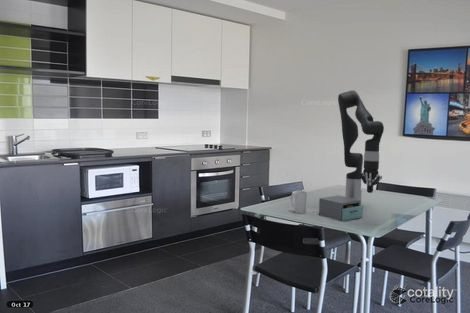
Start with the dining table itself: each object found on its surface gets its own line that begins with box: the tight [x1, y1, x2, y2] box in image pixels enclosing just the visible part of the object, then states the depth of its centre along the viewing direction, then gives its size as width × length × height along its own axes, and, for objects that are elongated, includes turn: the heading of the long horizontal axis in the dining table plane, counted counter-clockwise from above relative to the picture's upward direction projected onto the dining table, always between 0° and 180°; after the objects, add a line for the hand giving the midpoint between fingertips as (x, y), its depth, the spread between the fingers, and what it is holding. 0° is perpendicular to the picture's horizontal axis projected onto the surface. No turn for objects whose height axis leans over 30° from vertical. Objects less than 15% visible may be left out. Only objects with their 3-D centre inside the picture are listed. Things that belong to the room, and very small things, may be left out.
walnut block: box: [343, 204, 353, 209], centre depth 236 cm, size 5×5×5 cm
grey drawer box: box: [318, 194, 362, 222], centre depth 239 cm, size 16×16×10 cm
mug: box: [289, 190, 308, 214], centre depth 248 cm, size 10×7×12 cm, turn 52°
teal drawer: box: [341, 205, 364, 222], centre depth 238 cm, size 16×16×6 cm
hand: (369, 192), depth 222 cm, fingers closed
